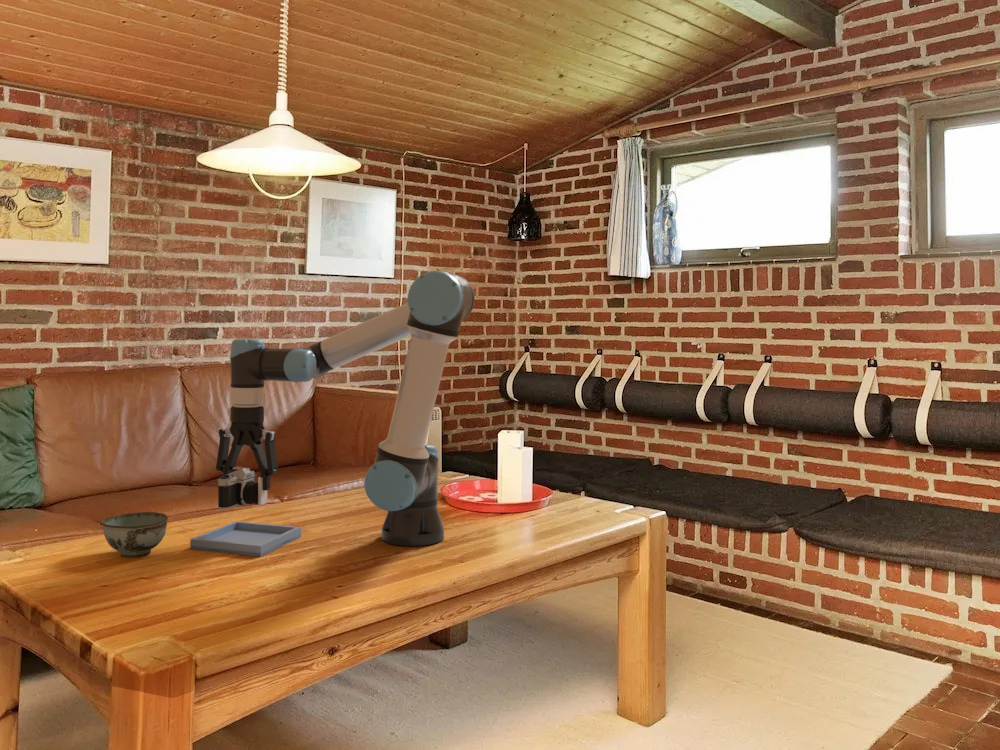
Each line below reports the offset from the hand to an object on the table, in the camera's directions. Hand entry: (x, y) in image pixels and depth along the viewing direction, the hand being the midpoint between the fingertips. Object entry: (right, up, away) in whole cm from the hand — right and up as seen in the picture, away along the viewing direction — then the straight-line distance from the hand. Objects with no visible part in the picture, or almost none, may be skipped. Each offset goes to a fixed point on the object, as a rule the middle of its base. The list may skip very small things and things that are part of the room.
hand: (246, 502), depth 193 cm
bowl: (-22, -10, -10) cm, 26 cm away
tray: (0, -10, +1) cm, 10 cm away
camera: (0, 0, -1) cm, 1 cm away
